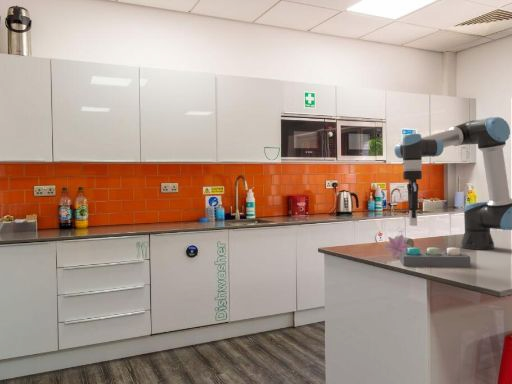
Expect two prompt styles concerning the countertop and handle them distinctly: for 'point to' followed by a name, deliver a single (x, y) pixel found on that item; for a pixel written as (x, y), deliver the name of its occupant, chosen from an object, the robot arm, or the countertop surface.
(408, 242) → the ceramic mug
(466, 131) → the robot arm
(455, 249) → the cream button
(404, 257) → the console
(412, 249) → the teal button
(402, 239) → the lily
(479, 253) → the countertop surface
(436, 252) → the sage button
